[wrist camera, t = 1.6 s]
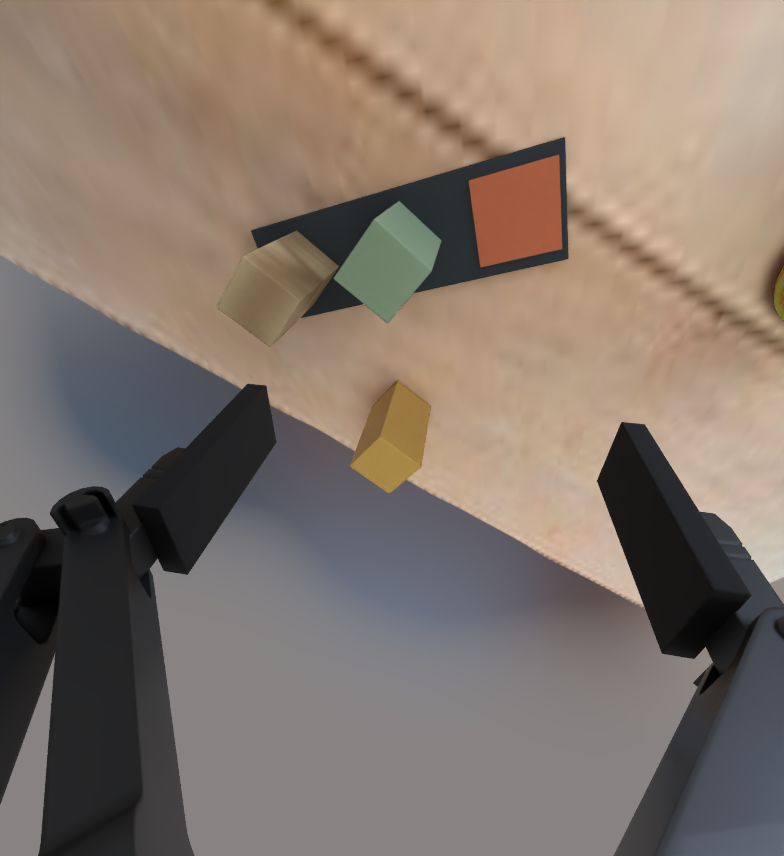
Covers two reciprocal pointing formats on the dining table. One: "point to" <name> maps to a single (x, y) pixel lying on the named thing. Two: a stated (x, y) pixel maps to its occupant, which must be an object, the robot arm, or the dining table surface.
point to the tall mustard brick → (393, 438)
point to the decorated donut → (779, 294)
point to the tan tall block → (276, 286)
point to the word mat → (455, 220)
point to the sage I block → (389, 261)
